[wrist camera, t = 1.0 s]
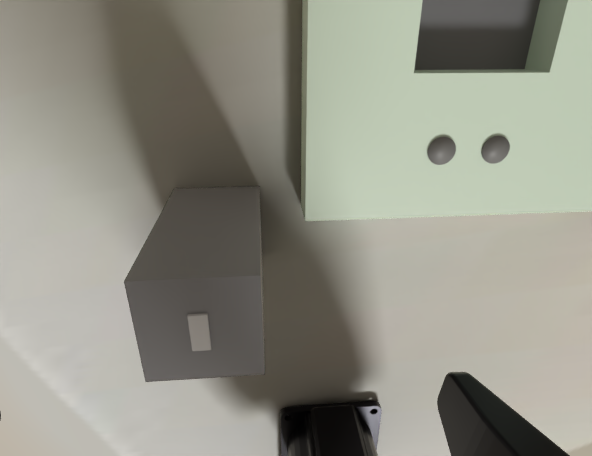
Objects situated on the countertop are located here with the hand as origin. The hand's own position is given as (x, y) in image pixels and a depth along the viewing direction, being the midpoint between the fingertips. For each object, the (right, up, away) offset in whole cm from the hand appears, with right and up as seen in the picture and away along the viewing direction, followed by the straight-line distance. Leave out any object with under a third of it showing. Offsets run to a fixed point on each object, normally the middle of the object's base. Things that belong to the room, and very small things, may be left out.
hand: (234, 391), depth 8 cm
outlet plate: (+9, +13, +8) cm, 18 cm away
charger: (-2, +3, +12) cm, 13 cm away
